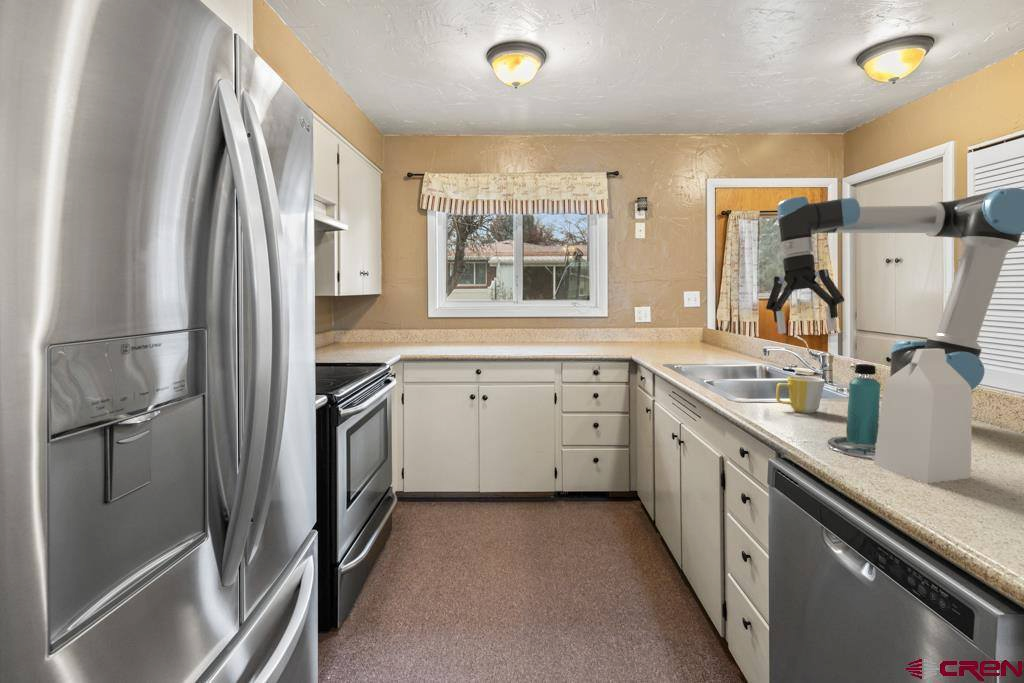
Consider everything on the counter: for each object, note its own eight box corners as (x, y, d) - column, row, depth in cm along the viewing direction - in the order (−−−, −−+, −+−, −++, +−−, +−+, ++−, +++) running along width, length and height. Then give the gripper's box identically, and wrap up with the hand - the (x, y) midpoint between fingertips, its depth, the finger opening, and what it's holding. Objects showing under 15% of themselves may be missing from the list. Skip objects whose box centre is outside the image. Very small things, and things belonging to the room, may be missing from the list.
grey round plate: (856, 439, 138) (856, 434, 138) (911, 455, 125) (912, 450, 125) (813, 444, 134) (813, 439, 134) (866, 461, 120) (866, 455, 120)
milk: (926, 483, 107) (937, 353, 104) (873, 465, 118) (882, 347, 115) (970, 477, 110) (982, 351, 108) (914, 460, 121) (924, 345, 119)
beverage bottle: (882, 451, 126) (888, 366, 124) (851, 450, 127) (856, 365, 125) (870, 444, 132) (875, 363, 130) (840, 442, 133) (845, 362, 131)
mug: (818, 408, 173) (820, 376, 172) (827, 416, 163) (829, 381, 162) (771, 406, 177) (773, 374, 176) (777, 413, 167) (779, 379, 166)
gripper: (748, 263, 157) (756, 336, 157) (839, 247, 136) (848, 330, 136) (763, 262, 161) (771, 333, 161) (853, 246, 140) (862, 327, 141)
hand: (806, 332), depth 149 cm, fingers open, 13 cm apart
